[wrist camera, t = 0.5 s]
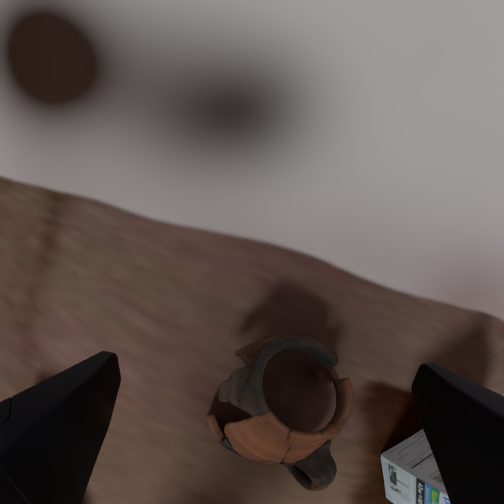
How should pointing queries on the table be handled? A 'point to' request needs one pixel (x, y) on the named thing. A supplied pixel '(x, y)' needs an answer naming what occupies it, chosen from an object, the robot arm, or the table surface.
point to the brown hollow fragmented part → (270, 427)
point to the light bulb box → (413, 473)
